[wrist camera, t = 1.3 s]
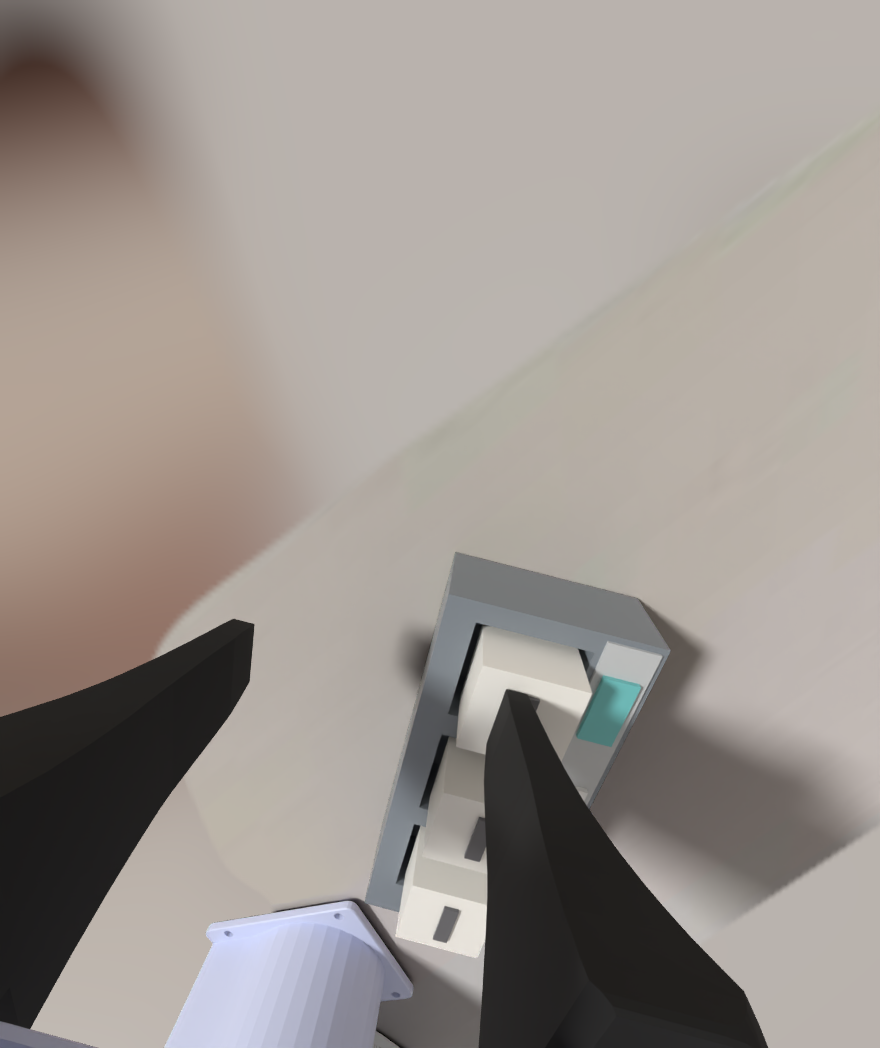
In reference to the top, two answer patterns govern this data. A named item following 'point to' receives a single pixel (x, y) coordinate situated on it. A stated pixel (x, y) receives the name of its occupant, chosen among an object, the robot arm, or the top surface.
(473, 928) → the button
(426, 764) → the console
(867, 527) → the top surface
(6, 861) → the robot arm
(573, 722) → the button
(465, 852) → the button middle
